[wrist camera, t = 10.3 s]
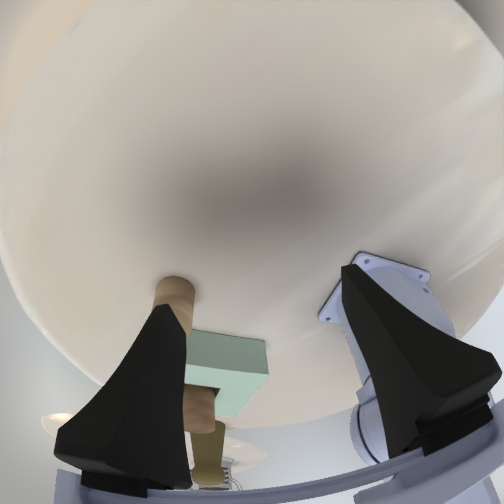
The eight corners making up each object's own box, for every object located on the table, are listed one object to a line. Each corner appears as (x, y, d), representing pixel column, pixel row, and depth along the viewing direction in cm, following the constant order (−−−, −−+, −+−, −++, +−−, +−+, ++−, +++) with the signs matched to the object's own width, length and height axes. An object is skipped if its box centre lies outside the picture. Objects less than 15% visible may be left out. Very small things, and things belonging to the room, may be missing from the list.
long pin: (217, 356, 30) (218, 425, 23) (210, 371, 31) (211, 434, 25) (187, 351, 29) (183, 421, 22) (183, 366, 30) (179, 431, 24)
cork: (197, 432, 44) (198, 487, 35) (183, 420, 40) (181, 482, 32) (230, 429, 43) (233, 486, 35) (218, 417, 40) (220, 482, 31)
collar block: (264, 340, 28) (268, 374, 25) (233, 389, 34) (235, 417, 31) (153, 321, 26) (146, 356, 22) (147, 376, 32) (143, 404, 28)
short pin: (198, 281, 23) (195, 318, 20) (190, 307, 25) (187, 344, 22) (159, 272, 22) (151, 309, 19) (155, 299, 24) (147, 335, 21)
